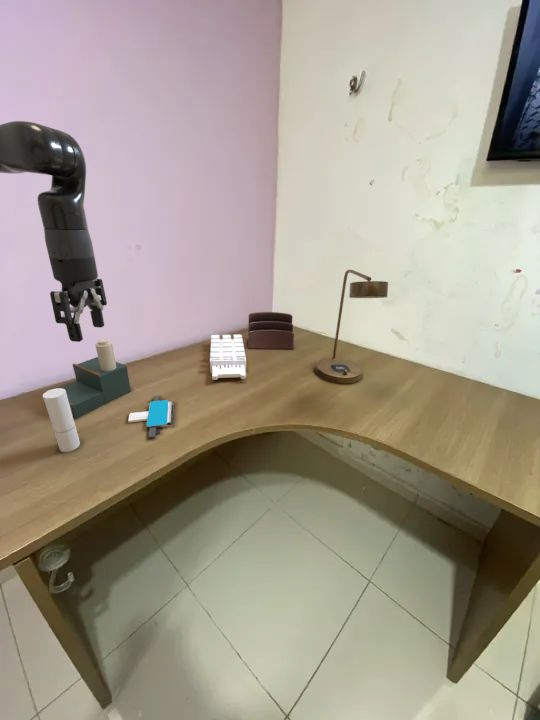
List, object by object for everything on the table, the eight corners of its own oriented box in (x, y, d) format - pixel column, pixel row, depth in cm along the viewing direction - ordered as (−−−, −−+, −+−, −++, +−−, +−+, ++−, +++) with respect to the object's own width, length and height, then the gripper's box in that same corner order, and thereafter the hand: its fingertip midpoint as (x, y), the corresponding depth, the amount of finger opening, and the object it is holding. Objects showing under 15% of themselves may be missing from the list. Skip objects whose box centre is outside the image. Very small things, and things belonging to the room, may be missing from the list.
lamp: (332, 400, 100) (350, 280, 83) (310, 363, 124) (321, 265, 108) (381, 398, 102) (408, 281, 86) (351, 362, 126) (367, 266, 110)
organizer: (241, 334, 137) (248, 370, 105) (241, 344, 139) (248, 383, 107) (211, 334, 135) (209, 371, 103) (211, 345, 137) (209, 384, 105)
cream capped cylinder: (97, 368, 93) (91, 341, 89) (110, 363, 97) (105, 336, 93) (106, 372, 91) (100, 344, 87) (119, 367, 95) (114, 339, 91)
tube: (82, 446, 76) (68, 393, 69) (62, 454, 73) (45, 400, 66) (76, 437, 78) (62, 386, 72) (57, 445, 75) (40, 392, 69)
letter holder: (248, 340, 144) (248, 310, 138) (290, 341, 145) (292, 312, 139) (247, 348, 135) (248, 317, 129) (293, 349, 136) (295, 318, 130)
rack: (49, 404, 91) (40, 375, 87) (105, 379, 105) (99, 354, 101) (75, 418, 85) (67, 388, 81) (130, 390, 100) (126, 364, 95)
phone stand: (134, 399, 95) (133, 395, 94) (174, 396, 98) (174, 391, 97) (123, 442, 77) (122, 437, 77) (173, 436, 80) (172, 431, 80)
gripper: (74, 249, 66) (89, 322, 73) (24, 257, 53) (48, 345, 60) (109, 251, 66) (121, 323, 73) (68, 260, 53) (87, 347, 60)
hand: (88, 333), depth 66 cm, fingers open, 8 cm apart
